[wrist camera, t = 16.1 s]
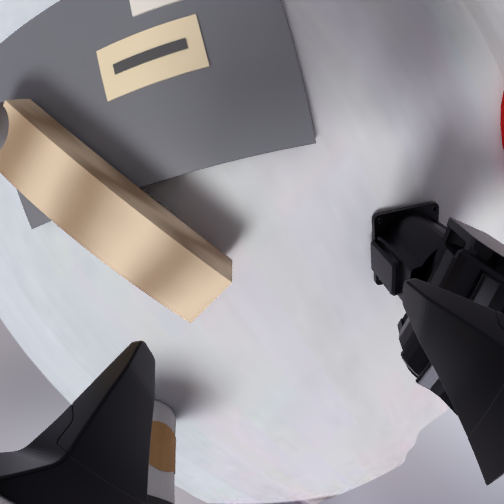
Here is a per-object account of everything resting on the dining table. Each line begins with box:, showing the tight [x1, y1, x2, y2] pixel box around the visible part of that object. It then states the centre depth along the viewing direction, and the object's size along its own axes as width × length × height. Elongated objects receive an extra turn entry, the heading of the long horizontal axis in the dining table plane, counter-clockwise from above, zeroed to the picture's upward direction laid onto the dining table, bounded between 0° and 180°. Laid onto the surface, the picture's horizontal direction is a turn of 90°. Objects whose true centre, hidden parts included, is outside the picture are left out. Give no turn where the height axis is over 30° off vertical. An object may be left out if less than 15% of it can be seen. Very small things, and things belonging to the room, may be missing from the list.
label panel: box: [0, 0, 316, 229], centre depth 15 cm, size 23×17×1 cm
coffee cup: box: [147, 400, 176, 504], centre depth 25 cm, size 8×8×15 cm
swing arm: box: [0, 99, 232, 323], centre depth 17 cm, size 22×4×3 cm, turn 48°
